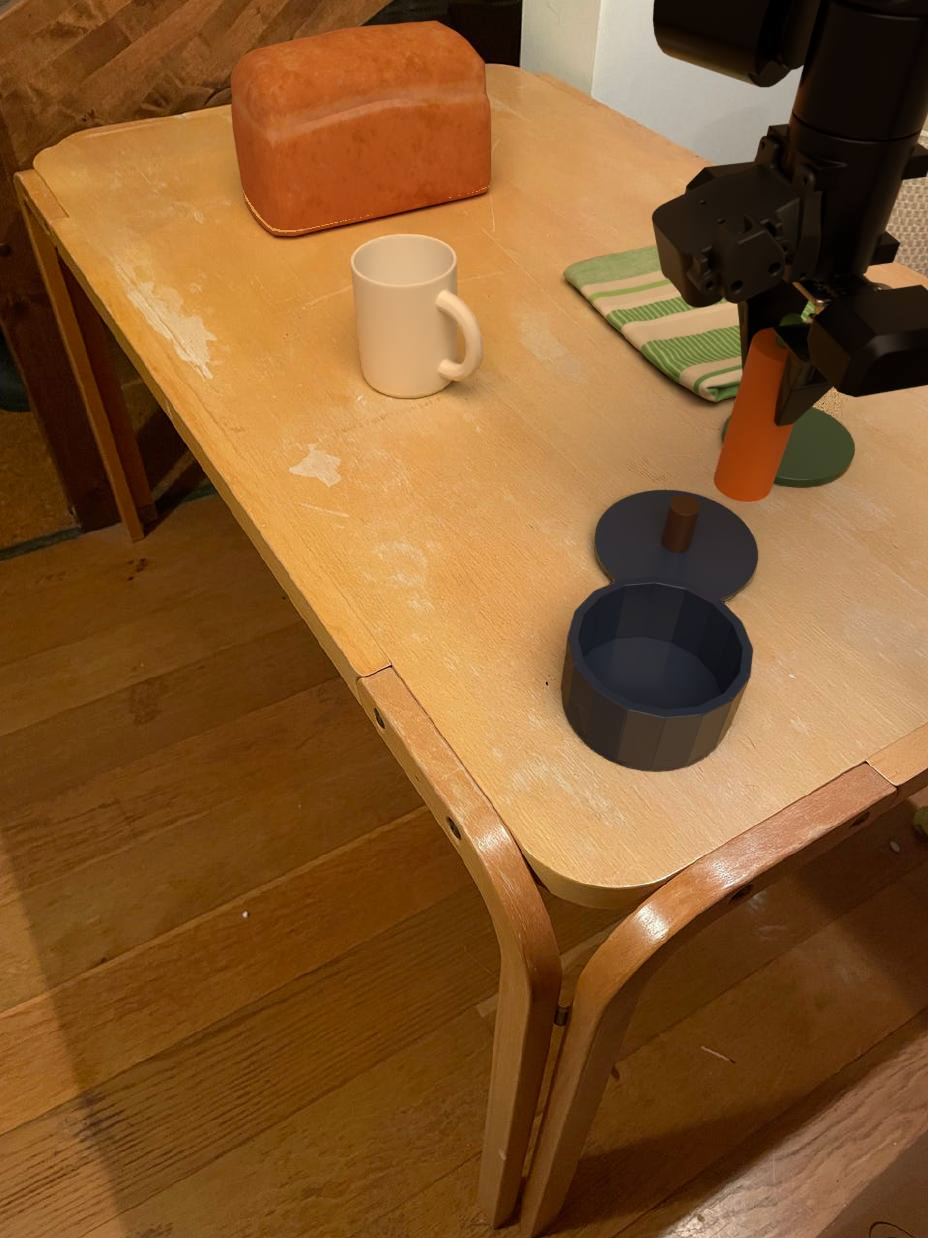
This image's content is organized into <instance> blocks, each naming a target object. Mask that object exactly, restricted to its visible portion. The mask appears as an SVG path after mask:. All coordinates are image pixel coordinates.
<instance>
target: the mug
mask: <svg viewBox="0 0 928 1238" xmlns="http://www.w3.org/2000/svg"><path fill="white" fill-rule="evenodd" d="M349 263H350V273H351V284H352V293H353V302H354V311H355V320H356V321H355V323H356V331H357V342H358V351H359V359H360V367H361V372H362V375H363V377H364V379H365V381H366V382H367V383H368V385H369V386H370V387H372V388H373V389H374V390H376V391H377V392H379V393H381V394H382V395H385V396H388V397H393V398H397V399H398V398H399V399H419V398H423V397H428V396H431V395H434V394H436V393H438V392H440V391H442V390H444V388H446V387H447V386H448V385H449V384H450V383H451V382H452V381H456V382H461V381H463V382H464V381H465V380H468V379H471V378H472V377H473V376H475V374H476V373H477V372H478V370H479V369H480V366H481V364H482V360H483V355H484V353H483V352H484V341H483V336H482V332H481V331H482V330H481V328H480V325H479V322H478V320H477V318H476V316H475V315H474V313H473V311H472V310H471V309H470V307H469V306H468V305H467V303H465V302H464V301H463V300H462V299H461V298H460V297H458V257H457V253H456V252H455V250H454V249H453V248H452V247H451V245H449V244H448V243H446V242H445V241H443V240H441V239H438V238H436V237H433V236H428V235H424V234H419V233H418V234H417V233H393V234H388V235H382V236H379V237H375V238H373V239H370V240H368V241H366V242H364V243H363V244H361V245H360V246H358V247H357V248H356V249H355V250H354V251H353V253H352V254H351V257H350V261H349ZM458 327H459V328H460V330H461V333H462V335H463V339H464V342H465V350H466V351H465V357H464V359H463V362H461V363H458V360H459V358H458V355H459V354H458V353H459V352H458V351H459V350H458V349H459V348H458V347H459V346H458V345H459V343H458V337H459V336H458Z"/></svg>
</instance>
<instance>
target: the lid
mask: <svg viewBox="0 0 928 1238" xmlns="http://www.w3.org/2000/svg"><path fill="white" fill-rule="evenodd" d="M593 548H594V553H595V556H596V559H597V561H598V563H599V565H600V567H601V568H602V570H603V571H604V573H606V575H607V576H608V577H609V578H610V580H612V582H616V581H618V580H620V579H624V578H636V577H648V576H657V577H662V578H667V579H672V580H677V581H682V582H687V583H690V584H692V585H694V586H696V587H698V588H700V589H702V590H704V591H706V592H708V593H710V594H712V595H714V596H716V597H718V598H719V599H720V600H721V601H722V602H723V603H724V602H726V601H727V600H730V599H732V598H734V597H735V596H736V595H737V594H739V593H741V592H742V591H743V590H744V589H745V588H746V587H747V586H748V585H749V583H750V582H751V580H752V579H753V578H754V575H755V573H756V570H757V567H758V563H759V549H758V544H757V540H756V538H755V536H754V534H753V532H752V530H751V528H750V527H749V526H748V525H747V523H746V522H745V521H744V520H743V519H742V518H741V517H740V516H739V515H737V514H736V513H735V512H734V511H733V510H731V508H728V507H727V506H726V505H724V504H722V503H720V502H718V501H716V500H714V499H712V498H710V497H707V496H705V495H701V494H697V493H693V492H689V491H685V490H679V489H651V490H645V491H640V492H636V493H633V494H629V495H627V496H625V497H623V498H621V499H618V501H615V502H614V503H613V504H611V506H609V507H608V508H607V509H606V510H605V511H604V512H603V514H602V515H601V516H600V517H599V519H598V521H597V523H596V526H595V530H594V536H593Z"/></svg>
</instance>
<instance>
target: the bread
mask: <svg viewBox="0 0 928 1238" xmlns="http://www.w3.org/2000/svg"><path fill="white" fill-rule="evenodd" d="M486 75H487V74H486V62H485V60H484V59H483V58H482V57H481V56H480V54H479V53H478V52H477V51H476V49H475V48H474V47H473V46H472V45H471V43H470V42H469V41H468V40H467V39H466V38H465V37H464V36H463V35H461V34H460V33H459V32H457V31H456V30H454V29H452V28H450V27H448V26H447V25H445V24H443V23H441V22H439V21H438V20H428V21H411V22H401V23H391V24H390V23H389V24H374V25H364V26H354V27H353V26H352V27H343V28H339V29H335V30H331V31H327V32H323V33H320V34H319V33H318V34H316V35H315V34H314V35H312V36H306V37H300V38H295V39H292V40H287V41H282V42H279V43H274V44H271V45H267V46H263V47H260V48H255V49H253V50H251V51H249V52H247V53H245V54H243V55H242V56H240V59H238V61H237V63H236V65H235V66H234V67H233V69H232V72H231V75H230V80H229V81H230V90H231V98H232V99H231V106H230V109H231V110H230V111H231V125H232V135H233V139H234V147H235V153H236V160H237V165H238V171H239V177H240V183H241V188H242V187H243V189H242V191H243V190H244V193H245V195H246V197H247V198H248V200H249V202H250V203H251V205H252V206H253V207H254V209H255V210H256V211H257V213H258V214H259V215H260V217H261V218H262V219H263V220H264V221H265V222H266V223H267V224H268V225H270V226H271V227H272V228H276V229H280V230H299V229H307V228H312V227H316V226H320V227H316V228H312V229H307V230H303V231H296V232H286V233H285V232H278V231H272V230H271V229H270V228H268V227H267V226H266V225H265V224H264V223H263V222H262V221H261V220H260V219H259V218H258V217H257V216H256V214H255V213H254V212H253V211H252V209H251V207H250V205H249V204H248V202H247V201H246V199H245V196H244V193H243V192H242V194H243V198H244V201H245V205H246V206H247V208H248V210H249V211H250V214H251V216H252V217H254V219H255V220H256V221H257V222H258V223H259V225H260V226H261V227H262V228H264V229H266V231H268V232H269V233H270V234H272V235H273V236H277V237H278V236H280V237H281V236H282V237H297V236H300V235H305V234H309V233H313V232H317V231H322V230H326V229H331V228H335V227H340V226H344V225H348V224H353V223H358V222H363V221H368V220H372V219H377V218H380V217H385V216H389V215H393V214H398V213H403V212H406V211H411V210H416V209H421V208H424V207H429V206H434V205H439V204H442V203H447V202H452V201H456V200H461V199H462V200H463V199H465V198H470V197H473V196H478V195H481V194H485V193H486V192H488V190H489V188H490V186H491V184H490V182H491V183H492V109H491V103H490V102H491V101H490V99H489V96H488V93H487V77H486ZM489 185H490V186H489ZM488 186H489V187H488ZM485 187H487V188H485ZM482 188H485V189H482ZM481 189H482V190H481ZM479 190H480V191H479ZM476 191H478V192H476ZM472 192H473V193H472ZM468 193H469V194H468ZM459 195H460V196H459ZM449 197H451V198H449ZM367 215H369V216H367ZM360 217H361V218H360ZM354 218H355V219H354ZM349 219H350V220H349ZM343 220H344V221H343ZM345 220H347V221H345ZM340 221H342V222H340ZM334 222H338V223H334ZM330 223H333V224H330ZM325 224H329V225H325ZM321 225H325V226H321Z"/></svg>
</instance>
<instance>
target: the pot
mask: <svg viewBox="0 0 928 1238" xmlns="http://www.w3.org/2000/svg"><path fill="white" fill-rule="evenodd" d="M753 655H754V646H753V644H752V641H751V640H750V637H749V635H748V632H747V631H746V628H745V626H744V623H743V621H742V620H741V619H740V618H739V617H738V615H736V614H735V612H733V611H732V609H730V608H729V607H728V606H727V605H726V604H725V603H724V601H723V602H722V601H721V600H720V599H719V598H718V597H716V596H714V595H712V594H710V593H708V592H706V591H704V590H702V589H700V588H698V587H696V586H694V585H692V584H690V583H687V582H682V581H677V580H672V579H667V578H662V577H657V576H648V577H636V578H624V579H620V580H618V581H616V582H614V581H612V582H611V583H609V584H607V585H604V586H602V587H599V588H597V589H596V590H593V591H592V592H591V593H590V594H589V595H588V597H586V598H585V599H584V600H583V602H581V604H579V606H577V608H576V609H575V610H574V612H573V615H572V618H571V623H570V626H569V629H568V633H567V638H566V644H565V652H564V660H563V667H562V674H561V681H560V682H561V683H560V693H561V704H562V708H563V711H564V715H565V718H566V720H567V722H568V723H569V725H570V727H571V729H572V730H573V732H574V733H575V735H577V737H578V738H579V739H580V740H581V741H582V743H584V744H585V745H586V746H587V747H588V748H589V749H590V750H592V751H593V752H595V753H596V754H598V755H599V756H601V757H603V758H604V759H606V760H608V761H610V762H612V763H614V764H616V765H618V766H622V767H625V768H629V769H633V770H637V771H643V772H654V773H656V772H670V771H675V770H680V769H684V768H688V767H690V766H692V765H694V764H696V763H699V762H701V761H702V760H704V759H705V758H707V757H708V756H710V755H711V754H712V753H713V752H714V751H715V750H716V749H717V748H718V747H719V745H720V744H721V743H722V742H723V740H724V738H725V736H726V734H727V732H728V731H729V730H730V728H731V726H732V724H733V721H734V718H735V716H736V714H737V711H738V709H739V707H740V703H741V702H742V699H743V696H744V693H745V692H746V689H747V686H748V684H749V681H750V678H751V676H752V667H753V657H754V656H753Z"/></svg>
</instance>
